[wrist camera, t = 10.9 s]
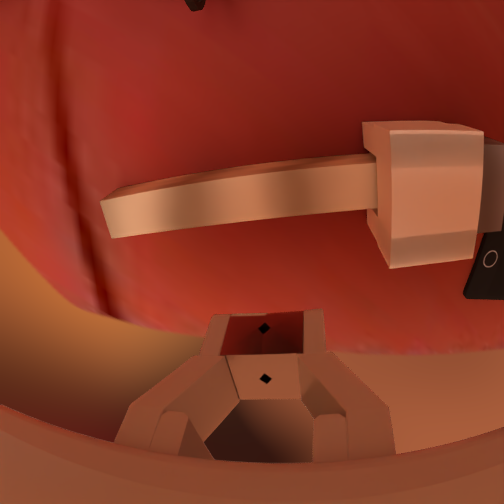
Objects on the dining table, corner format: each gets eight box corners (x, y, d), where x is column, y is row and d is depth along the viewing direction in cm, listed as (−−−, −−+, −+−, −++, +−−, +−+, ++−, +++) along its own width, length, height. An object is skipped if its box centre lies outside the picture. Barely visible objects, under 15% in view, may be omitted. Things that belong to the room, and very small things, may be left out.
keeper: (438, 118, 19) (483, 131, 13) (436, 219, 22) (472, 258, 17) (361, 119, 20) (389, 130, 14) (367, 226, 23) (389, 268, 18)
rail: (472, 132, 19) (509, 145, 14) (469, 204, 22) (501, 230, 17) (113, 170, 23) (79, 190, 19) (133, 238, 26) (106, 269, 21)
